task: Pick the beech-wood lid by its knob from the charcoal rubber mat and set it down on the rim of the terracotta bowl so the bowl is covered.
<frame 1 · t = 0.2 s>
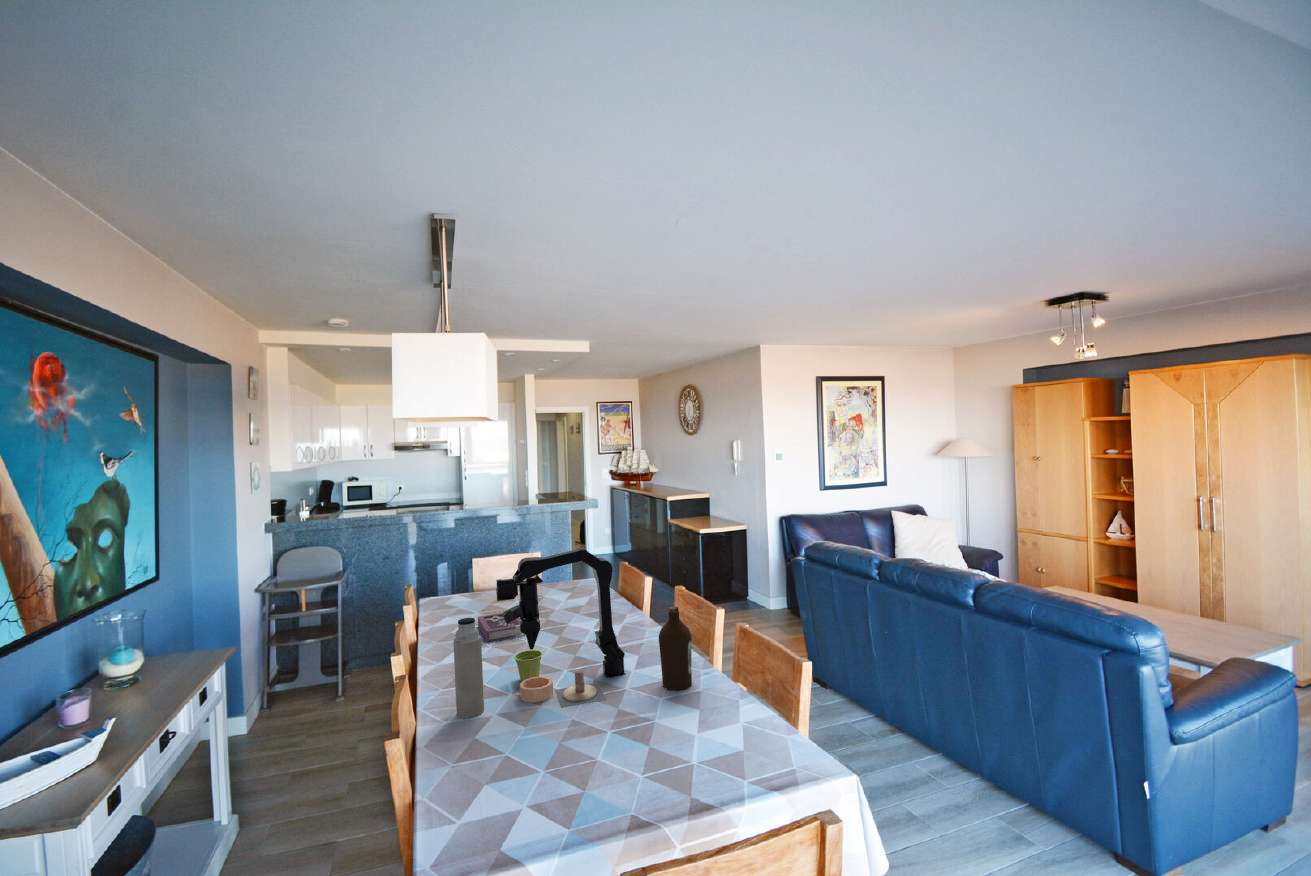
hand: (531, 644, 193), 14 cm above the table, fingers open, 9 cm apart
mat: (580, 696, 185), on the table
book: (501, 632, 258), on the table
lid: (580, 694, 185), point 1 cm above the table, touching mat
bowl: (536, 697, 186), on the table
thermos bottle: (470, 712, 178), on the table
olive oil: (677, 685, 190), on the table
plant pot: (529, 680, 200), on the table
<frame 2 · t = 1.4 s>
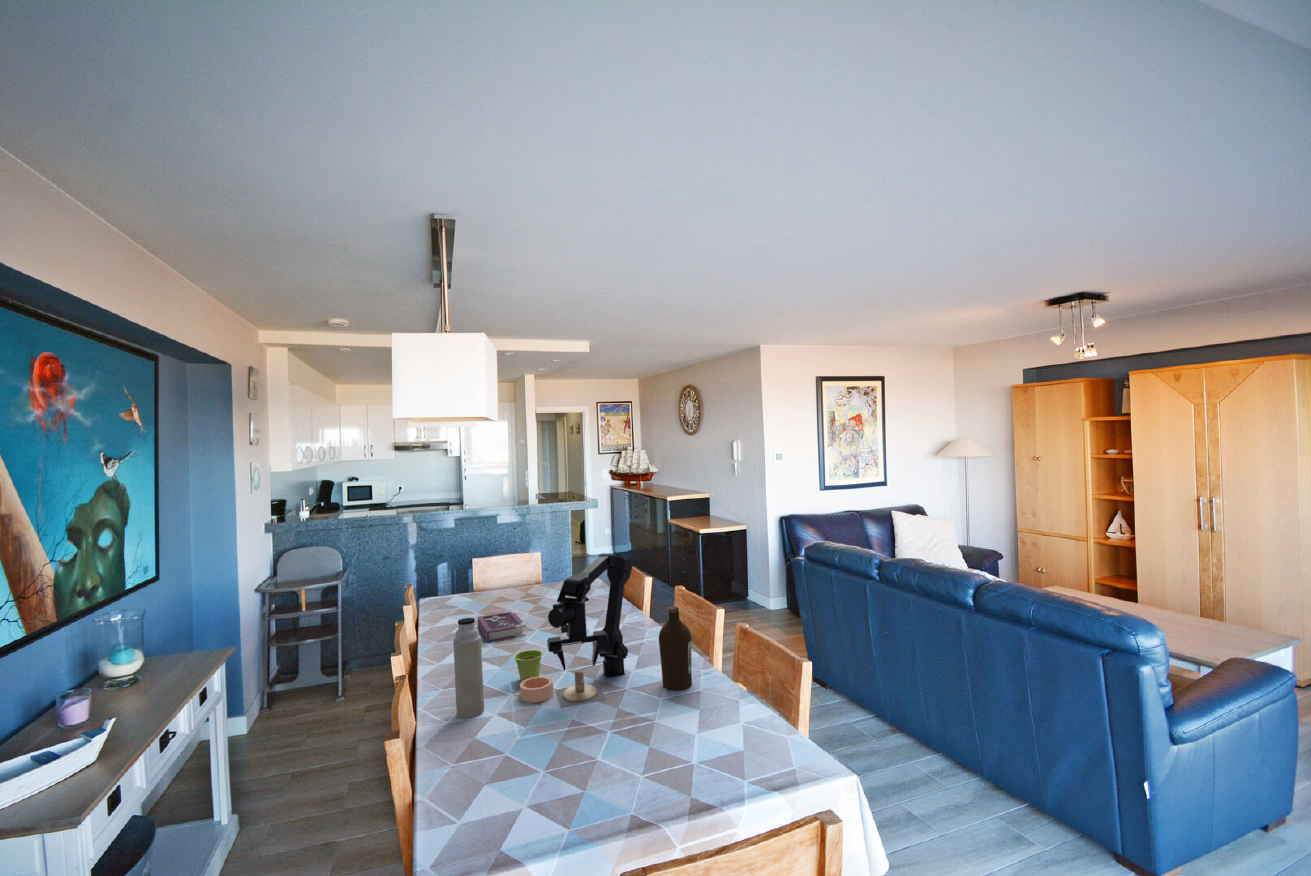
hand: (579, 668, 185), 9 cm above the table, fingers open, 9 cm apart
nothing on the table moved.
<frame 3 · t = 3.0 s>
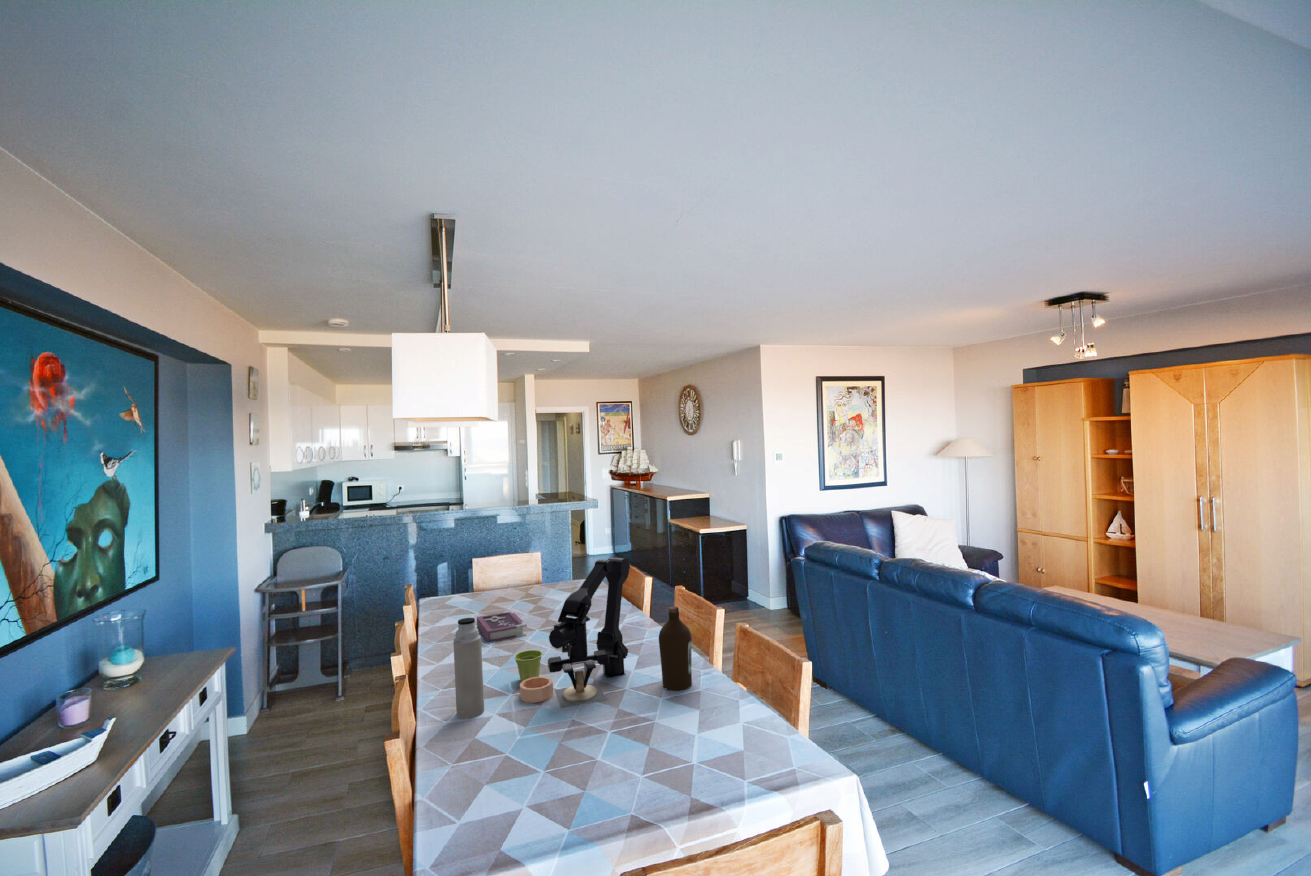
hand: (579, 688, 185), 3 cm above the table, fingers closed on lid, 3 cm apart
lid: (580, 694, 185), point 1 cm above the table, touching gripper, mat
everything else where it was.
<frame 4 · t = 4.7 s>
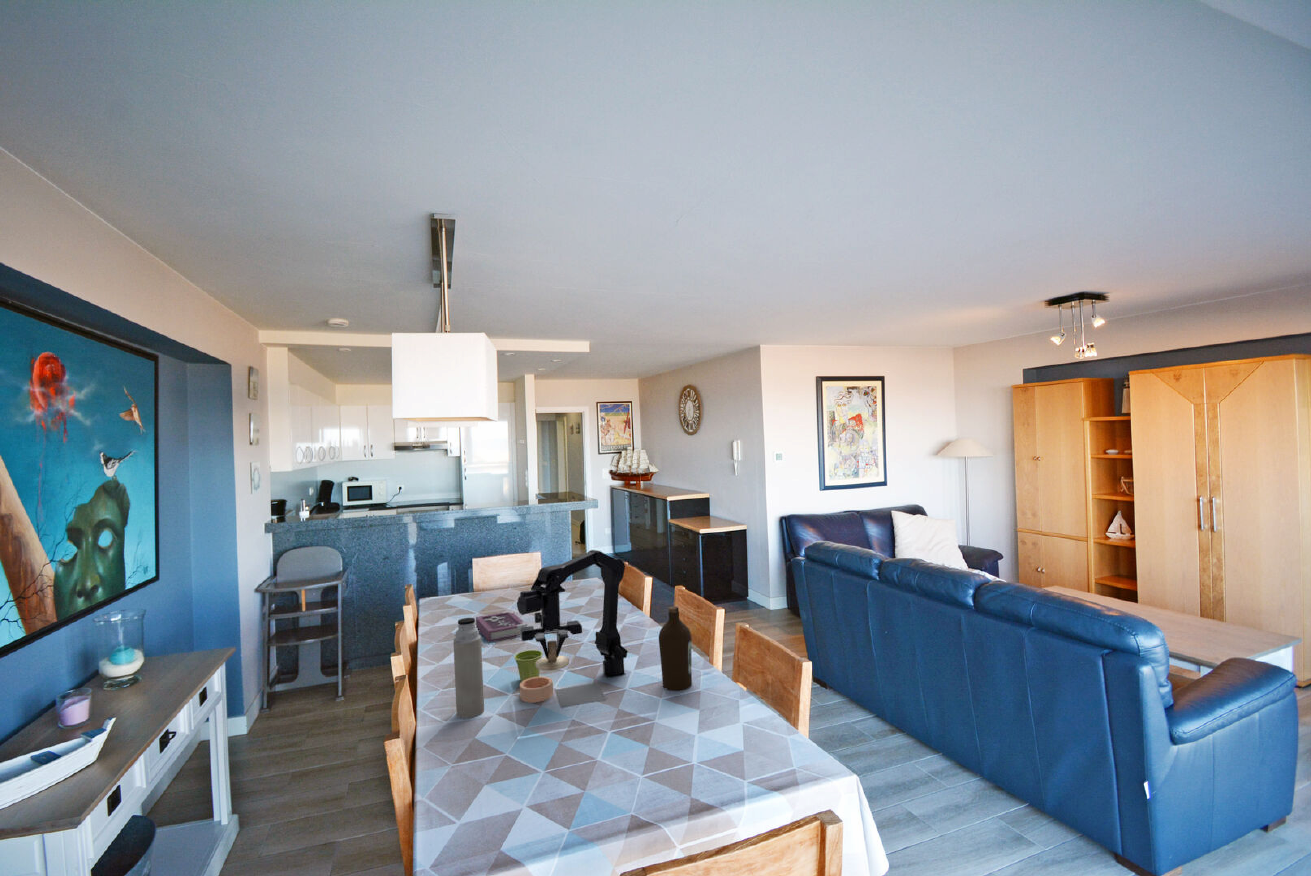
hand: (552, 657, 186), 12 cm above the table, fingers closed on lid, 3 cm apart
lid: (552, 664, 185), point 10 cm above the table, touching gripper
everything else where it was.
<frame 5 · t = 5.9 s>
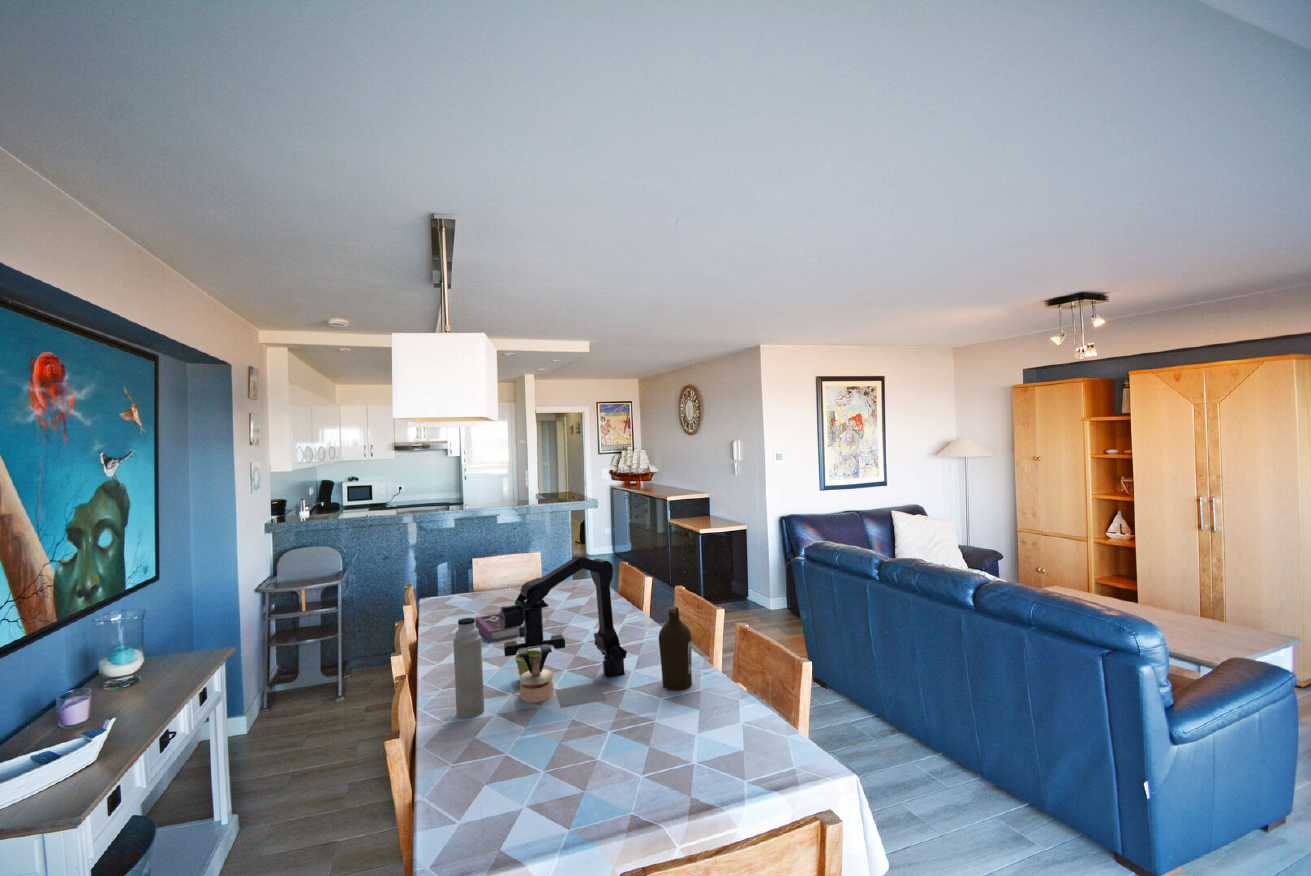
hand: (535, 672, 186), 8 cm above the table, fingers closed on lid, 3 cm apart
lid: (536, 678, 186), point 6 cm above the table, touching gripper
everything else where it was.
when the fingers open (8 cm above the table, at t = 6.4 s): lid drops 1 cm, resting on bowl.
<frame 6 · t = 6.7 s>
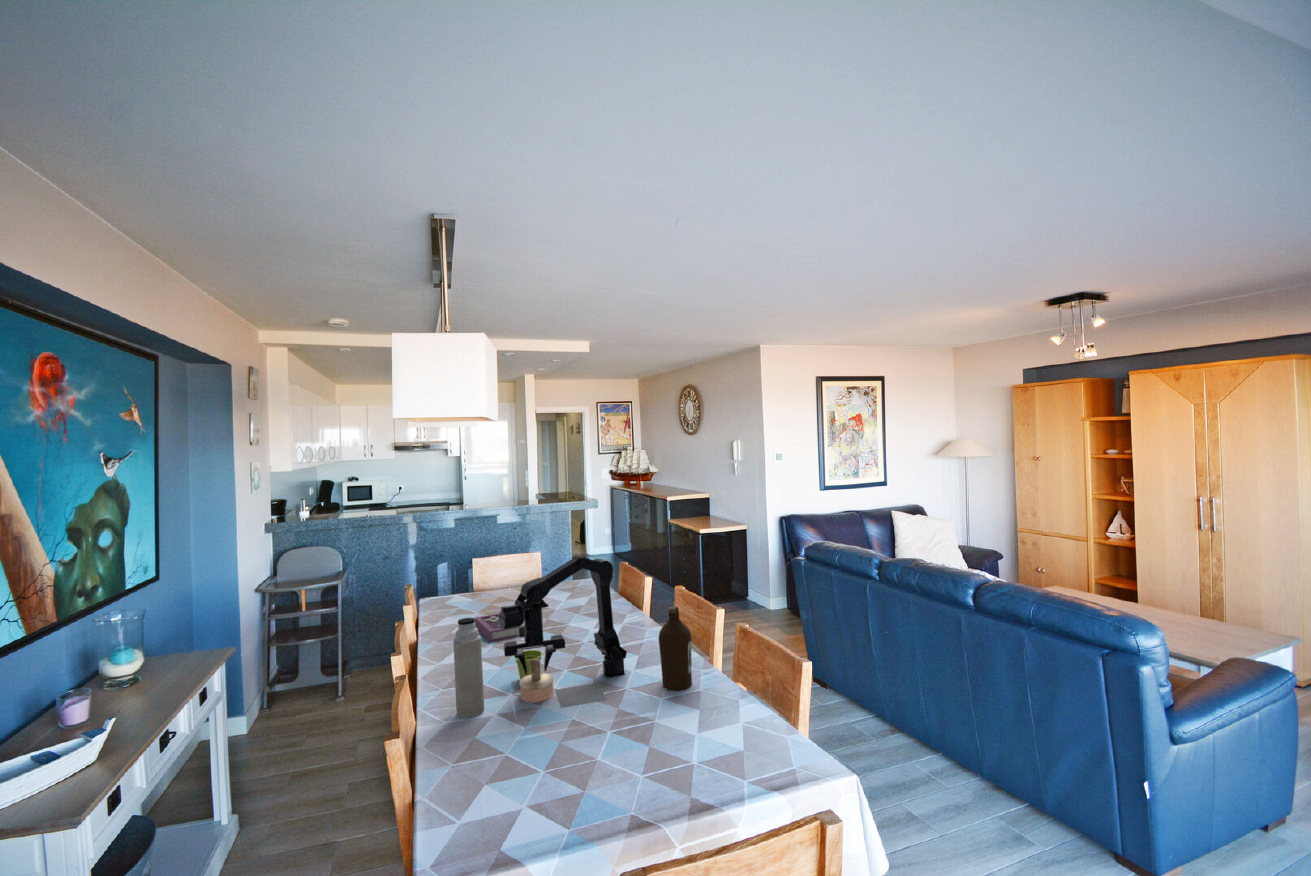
hand: (535, 672, 186), 8 cm above the table, fingers open, 6 cm apart
lid: (536, 682, 186), point 4 cm above the table, touching bowl
everything else where it was.
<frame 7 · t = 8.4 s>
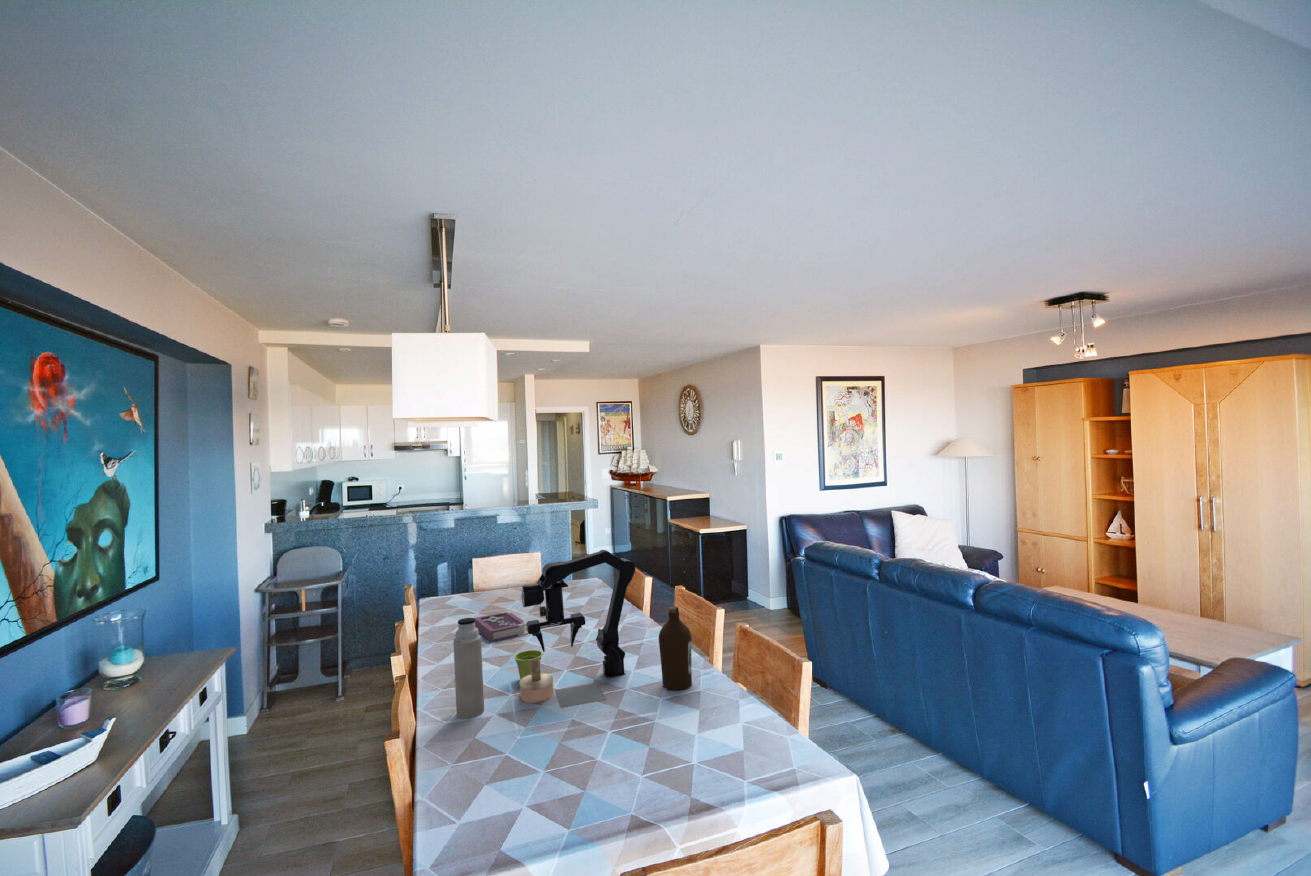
hand: (557, 649, 195), 12 cm above the table, fingers open, 9 cm apart
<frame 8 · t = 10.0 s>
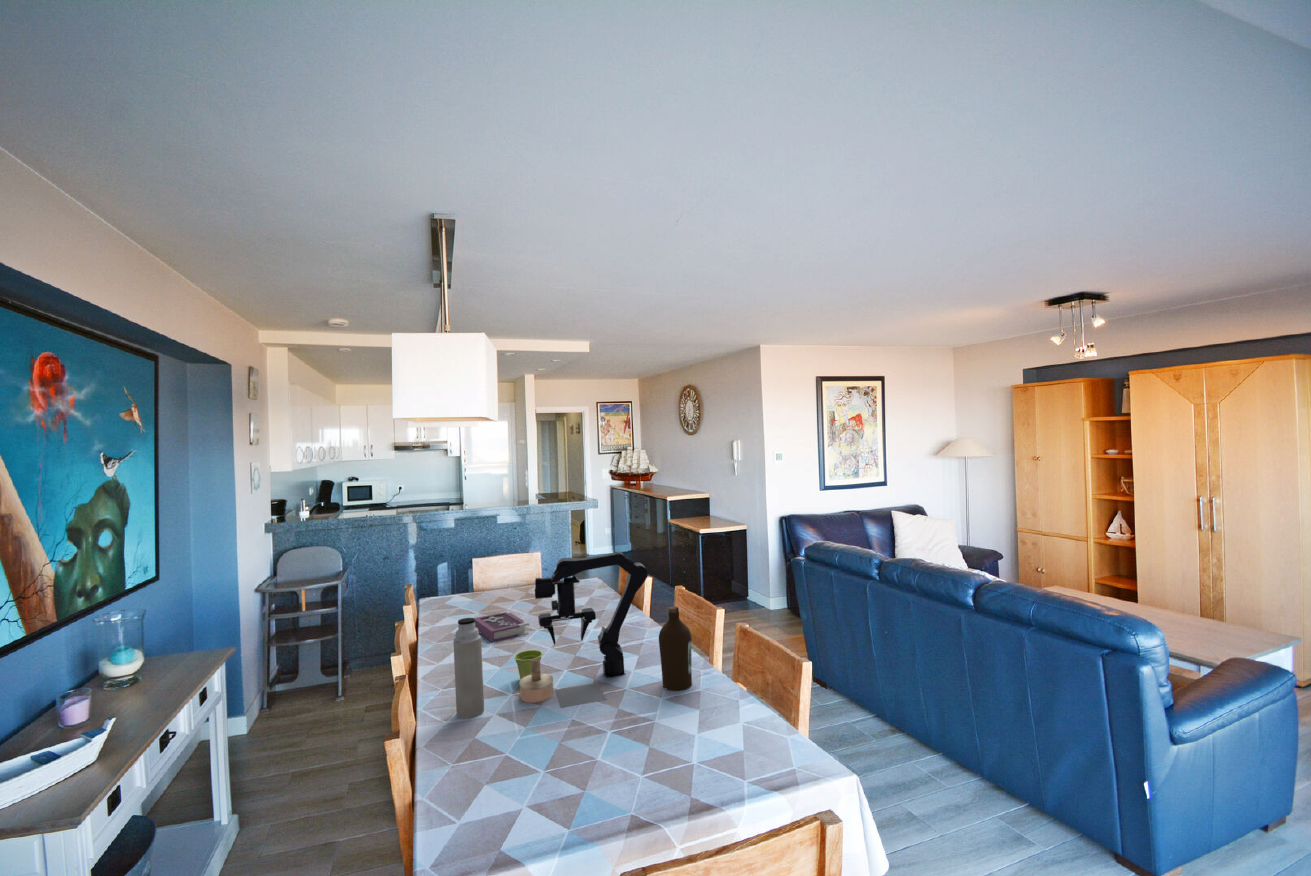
hand: (568, 642, 199), 13 cm above the table, fingers open, 9 cm apart
at the end: lid 0.1 cm off-centre on the bowl, point 4.5 cm above the bowl's base; lid tilted 0°; the gripper is holding nothing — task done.
